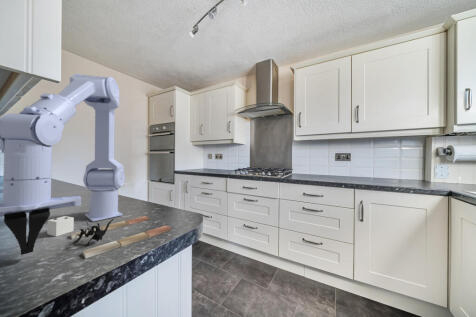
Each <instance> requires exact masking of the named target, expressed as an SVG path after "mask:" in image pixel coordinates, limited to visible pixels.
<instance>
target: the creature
mask: <svg viewBox="0 0 476 317" xmlns="http://www.w3.org/2000/svg"><path fill="white" fill-rule="evenodd" d="M114 220H115V218H112V219H110V221H109V222H107V226H106V228H105V230H104V231H103V230H100V228H101V226H100V223H99V222H97V223H96V224H97V225H92V226H91V227H87V229H83V228H79V232H80V231H81V232H80V234H77V235H78V236H79V238H76V237H77V236H76V237H75V239H76V240H75V241H73V242H72V243H71V244H69V245H67V246H66V248H68V247H71V246H73V247H74V246H76V244H77V246H79V245H81V246H83V245H84V246H86V247H88V246H89V244H90V242H91V241H92V240H95V241H96V242H97V243H98V242H99V240H101V241H102V240H103V237H104V236H105V234H106V232H107V231H108V230H107V229H108V227H109V224H112V223H113V221H114ZM85 222H86V225H87V226H89V222H88V221H86V220H85ZM94 228H95V229H96V231H94ZM84 230H85V231H84ZM86 230H88V233H87V234H86ZM89 230H90V231H89ZM94 233H95V234H94ZM83 234H85V236H83ZM82 236H83V237H84V238H89V237H90V236H91V238H90V240H89V241H87V244H83V243H79V244H78V242H79V241H80V240H81V239H82ZM74 244H75V245H74Z"/></svg>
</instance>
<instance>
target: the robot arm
mask: <svg viewBox="0 0 476 317" xmlns="http://www.w3.org/2000/svg"><path fill="white" fill-rule="evenodd" d="M39 97H40V98H39V99H38V100H36V101H35V102H33V103H32V104H31V105H26V106H25V107H24V108H23V109H22V110H21V111H20V112H19V113H7V114H5V115H2V116H1V117H0V151H1V153H2V154H3V182H2V185H3V186H2V187H3V188H2V203H0V218H1V217H3V223H4V224H5V226H6V227H7V228H8V229H9V230H10V231H11V233H12V234H13V235H14V237H15V240H16V241H17V243H18V245H19V248H20V255H21V256H22V255H26V254H30V253H33V252H34V247H35V244H36V241H37V239H38V236H39V234H40V232H41V230H42V228H43V227H44V225H45V224H46V222H48V220H49V218H50V215H51V211H50V210H55V209H57V210H58V209H63V208H69V207H81V205H82V197H81V196H80V195H73V196H60V197H58V196H57V197H52V175H53V174H52V173H53V172H52V168H53V146H54V145H56V144H57V143H60V142H61V140H62V136H63V131H64V130H65V129H64V128H65V125H66V124H67V123H68V122H70V121H71V119H72V118H73V117H74V116H76V114H77V109H76V107H77V106H78V105H80V104H81V103H82V102H84V104H86V105H87V106H89V107H91V108H93V110H94V114H95V115H94V160H92V161H91V162H90V163H88V164H87V165H85V171H84V172H85V173H84V174H83V177H82V181H83V183H84V184H83V185H84V186H85V188H86V189H87V190H88V191H90V194H89V195H88V196H89V197H88V213H85V214H84V216H85V217H86V218H88V219H89V220H90V221H92V222H97V221H103V220H107V219H111V218H112V219H113V218H117V217H121V216H123V213H122V212H120V211H119V189H121V188H122V186H123V185H124V184H125V181H126V174H125V169H124V168H125V167H124V165H123V164H122V163H120V162H119V161H117V160H116V159H115V123H116V121H115V114H116V113H115V110H116V109H118V108H119V107H120V88H119V86H118V83H117V81H116V80H115V79H114V77H111V76H107V77H106V76H99V75H87V74H80V73H74V74H73V75H71V76H69V84H67V86H65V87H64V89H62V90H61V91H60V92H59V93H58V94H55V93H42V94H41V95H39ZM27 214H28V216H27ZM27 225H28V228H27ZM27 229H28V234H27Z"/></svg>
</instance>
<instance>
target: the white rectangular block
mask: <svg viewBox="0 0 476 317" xmlns="http://www.w3.org/2000/svg"><path fill="white" fill-rule="evenodd" d="M74 219H75V218H74V217H71V216H67V215H66V216H64V215H63V216H60V217H55V218H51V219H47V227H46V228H47V230H46V232H47V233H46V234H47V235H49V236H51V237H52V236H53V237H59V236H62V235H65V234H68V233H69V234H70V233H73V232H74V225H75V224H74V222H75V220H74Z"/></svg>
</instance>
